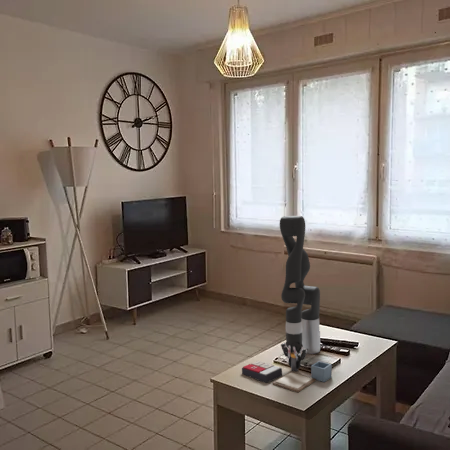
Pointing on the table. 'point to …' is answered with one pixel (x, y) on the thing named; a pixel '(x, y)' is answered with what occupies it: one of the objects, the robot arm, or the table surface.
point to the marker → (293, 363)
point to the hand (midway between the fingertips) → (294, 366)
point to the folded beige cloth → (294, 381)
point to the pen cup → (321, 371)
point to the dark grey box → (262, 371)
